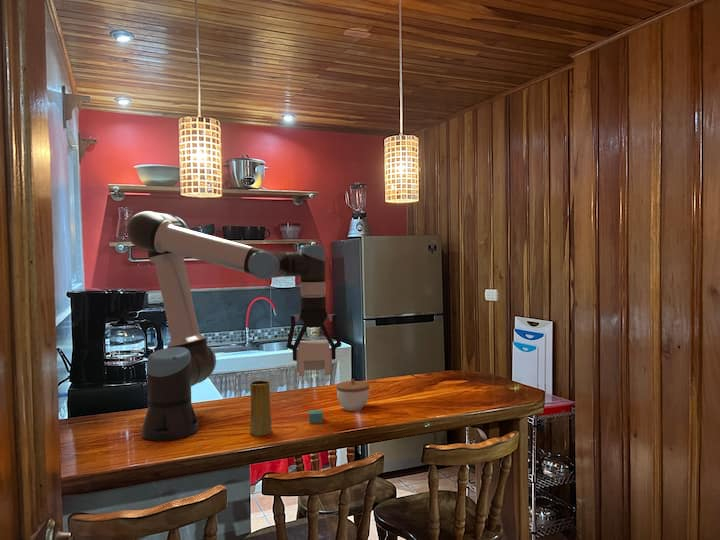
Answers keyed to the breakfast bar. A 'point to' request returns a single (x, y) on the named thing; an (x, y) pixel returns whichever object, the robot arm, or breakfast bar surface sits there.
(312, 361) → the notched white block
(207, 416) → the breakfast bar surface
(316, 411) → the teal block
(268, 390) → the vase
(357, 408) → the lidded jar
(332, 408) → the breakfast bar surface
